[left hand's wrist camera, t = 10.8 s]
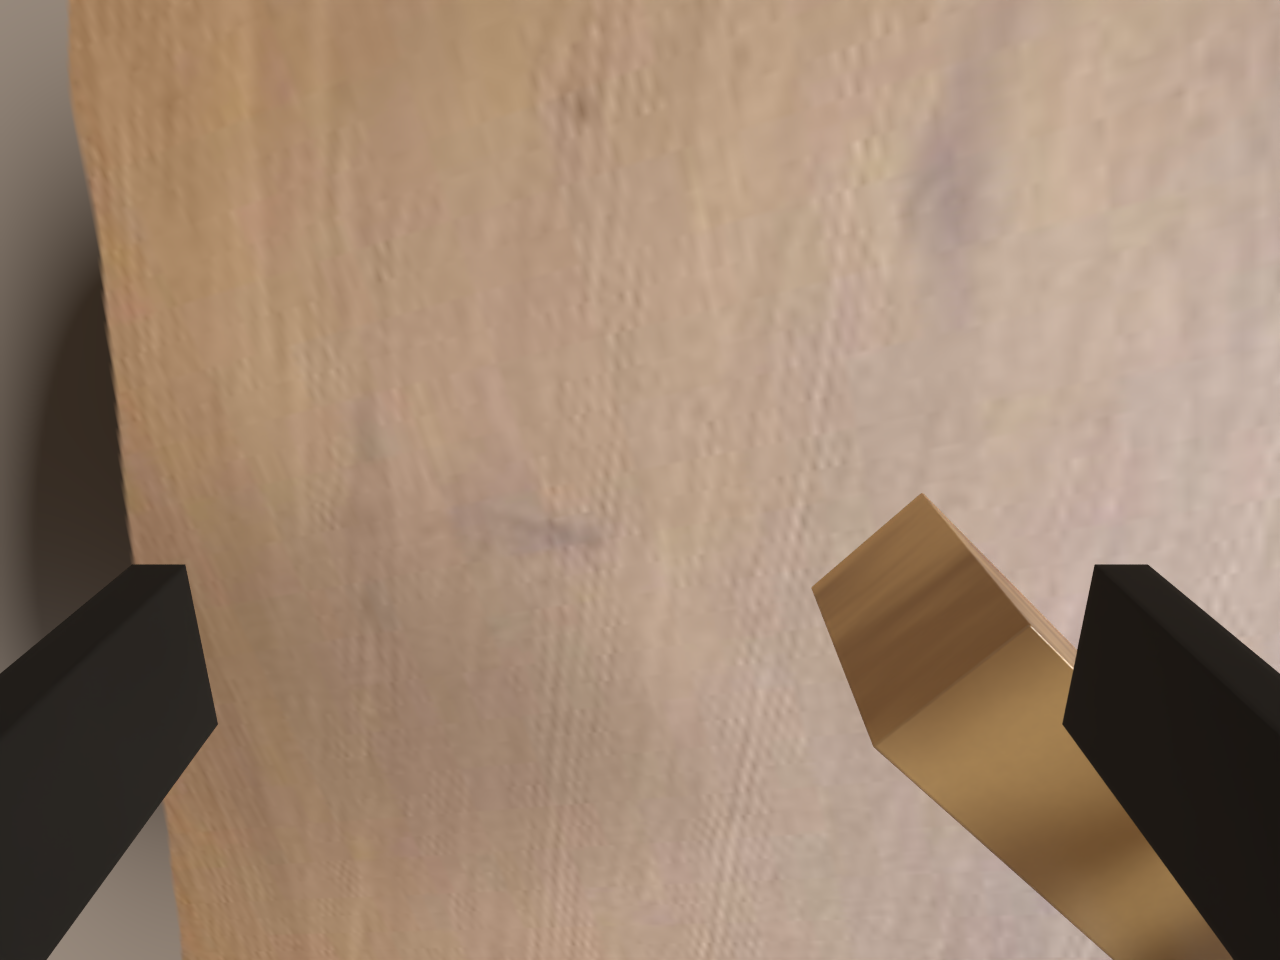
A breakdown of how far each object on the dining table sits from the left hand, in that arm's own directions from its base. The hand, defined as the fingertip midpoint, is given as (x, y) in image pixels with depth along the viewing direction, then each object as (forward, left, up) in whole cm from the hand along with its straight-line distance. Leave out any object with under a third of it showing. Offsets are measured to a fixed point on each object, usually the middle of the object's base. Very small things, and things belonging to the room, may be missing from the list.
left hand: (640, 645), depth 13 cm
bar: (+9, +19, -16) cm, 26 cm away
